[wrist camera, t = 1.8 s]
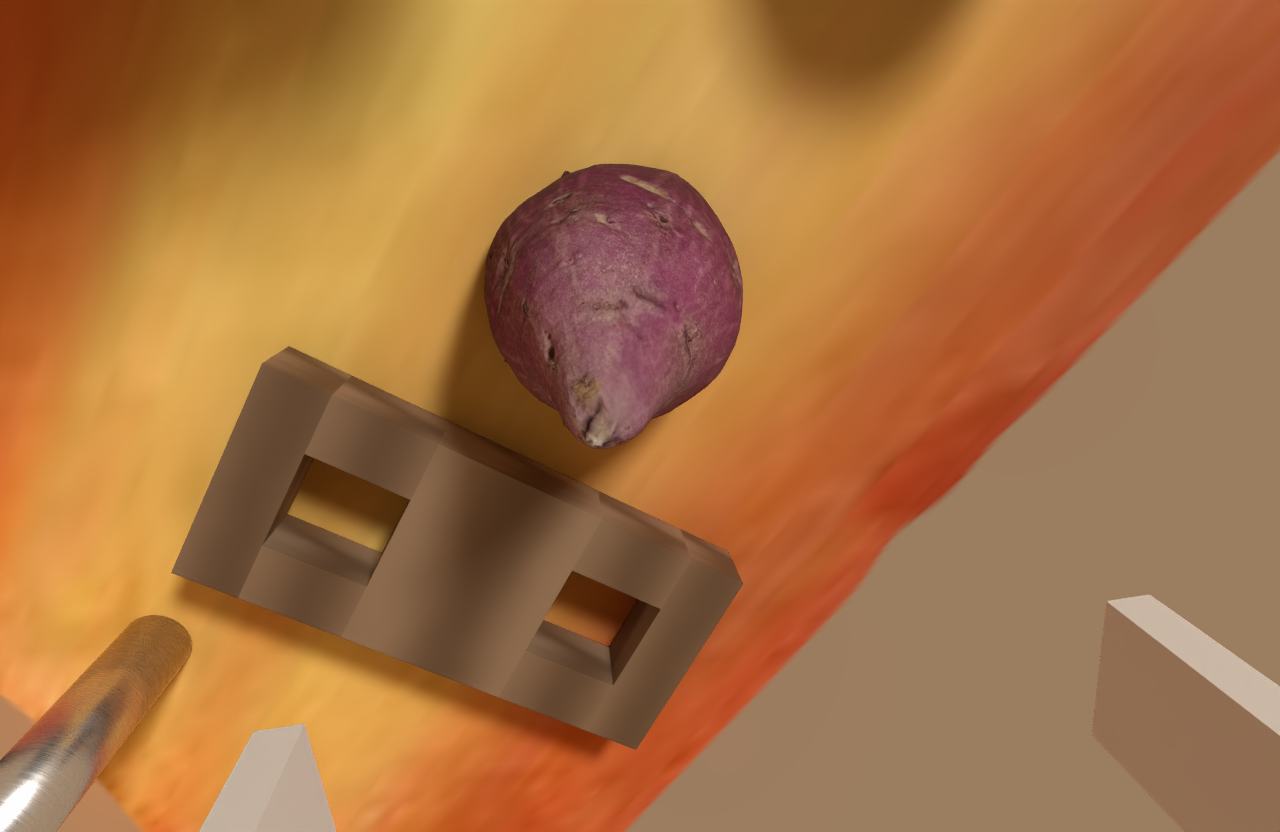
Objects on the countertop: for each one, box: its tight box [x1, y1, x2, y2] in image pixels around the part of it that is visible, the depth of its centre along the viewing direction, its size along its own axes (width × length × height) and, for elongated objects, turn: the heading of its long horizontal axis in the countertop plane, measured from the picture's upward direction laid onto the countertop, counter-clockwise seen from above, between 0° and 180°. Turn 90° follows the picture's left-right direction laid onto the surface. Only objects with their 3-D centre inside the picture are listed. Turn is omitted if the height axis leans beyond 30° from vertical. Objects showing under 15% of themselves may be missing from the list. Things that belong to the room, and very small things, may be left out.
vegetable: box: [484, 164, 743, 449], centre depth 27 cm, size 10×10×15 cm
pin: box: [0, 615, 192, 832], centre depth 29 cm, size 3×3×12 cm
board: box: [171, 347, 743, 750], centre depth 34 cm, size 22×10×3 cm, turn 61°
